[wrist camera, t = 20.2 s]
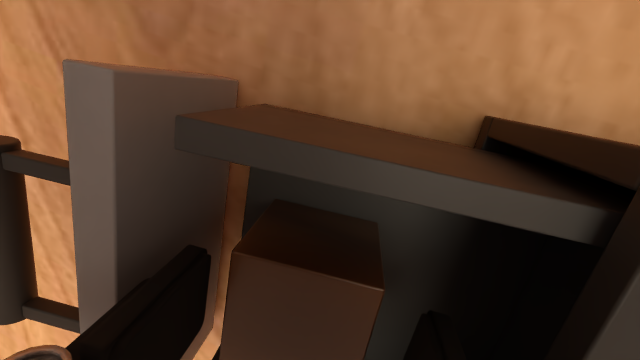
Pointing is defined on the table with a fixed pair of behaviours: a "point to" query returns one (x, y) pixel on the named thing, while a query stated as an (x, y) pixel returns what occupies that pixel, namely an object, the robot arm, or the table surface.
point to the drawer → (309, 190)
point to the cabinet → (620, 253)
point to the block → (303, 287)
